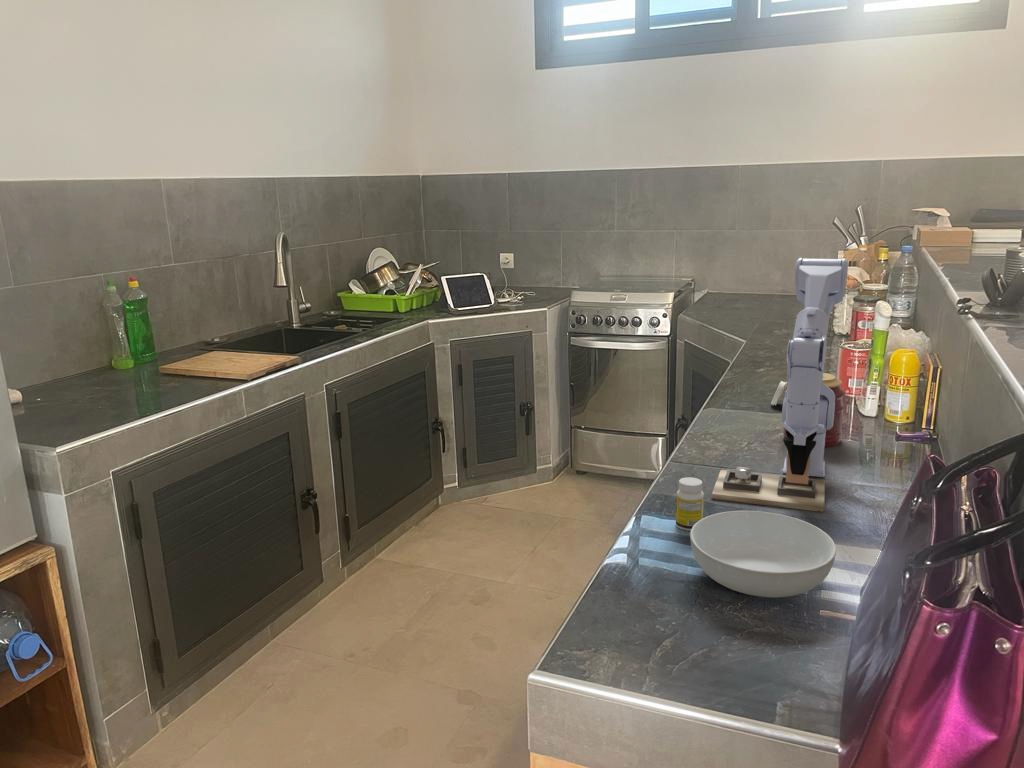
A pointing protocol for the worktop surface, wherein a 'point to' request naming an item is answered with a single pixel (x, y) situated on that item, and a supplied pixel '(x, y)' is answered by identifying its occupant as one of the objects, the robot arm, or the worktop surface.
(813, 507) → the board
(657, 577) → the worktop surface
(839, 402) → the canister
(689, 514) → the supplement bottle
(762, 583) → the serving bowl
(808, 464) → the tan tall block
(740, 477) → the pin
